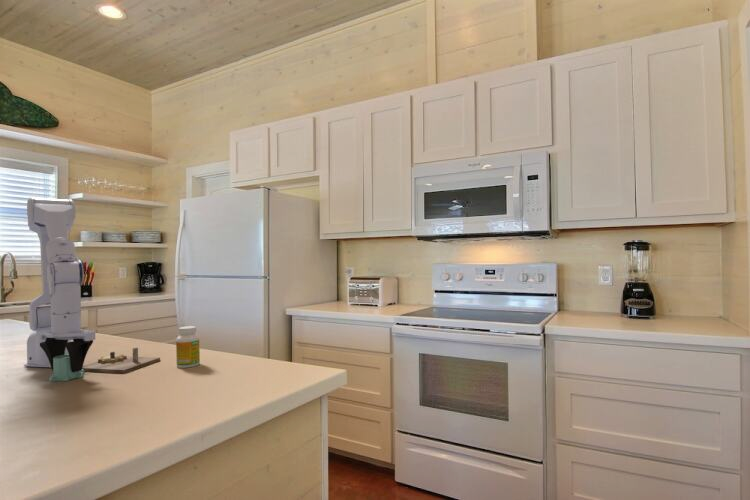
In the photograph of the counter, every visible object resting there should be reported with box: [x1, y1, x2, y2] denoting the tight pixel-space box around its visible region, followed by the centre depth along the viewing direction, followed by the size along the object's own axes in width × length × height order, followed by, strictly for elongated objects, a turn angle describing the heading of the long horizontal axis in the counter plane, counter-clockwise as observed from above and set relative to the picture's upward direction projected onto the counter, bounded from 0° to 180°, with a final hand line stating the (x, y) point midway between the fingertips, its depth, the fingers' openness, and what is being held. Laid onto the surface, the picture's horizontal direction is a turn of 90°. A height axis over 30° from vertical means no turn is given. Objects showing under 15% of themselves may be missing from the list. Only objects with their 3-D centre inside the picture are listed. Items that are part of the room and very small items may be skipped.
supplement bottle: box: [175, 325, 201, 369], centre depth 108 cm, size 5×5×10 cm
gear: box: [49, 354, 85, 383], centre depth 99 cm, size 7×7×5 cm
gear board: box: [82, 347, 161, 374], centre depth 109 cm, size 14×12×4 cm
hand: (67, 370), depth 99 cm, fingers closed on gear, 5 cm apart
